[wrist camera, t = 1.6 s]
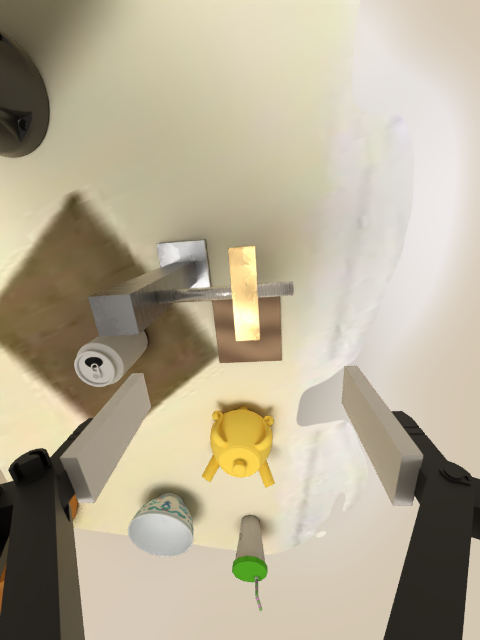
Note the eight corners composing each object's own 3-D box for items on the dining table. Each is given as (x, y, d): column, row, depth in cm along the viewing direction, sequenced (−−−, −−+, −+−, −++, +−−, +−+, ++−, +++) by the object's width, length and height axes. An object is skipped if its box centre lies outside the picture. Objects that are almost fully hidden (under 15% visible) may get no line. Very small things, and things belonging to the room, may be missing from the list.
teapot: (208, 447, 57) (198, 496, 47) (209, 398, 53) (198, 440, 42) (271, 453, 57) (275, 503, 47) (278, 403, 52) (284, 447, 42)
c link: (236, 246, 32) (228, 248, 23) (255, 245, 32) (254, 246, 22) (241, 313, 35) (236, 340, 25) (258, 312, 35) (259, 339, 25)
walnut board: (211, 292, 45) (211, 293, 44) (279, 288, 44) (279, 288, 43) (220, 361, 50) (219, 363, 49) (281, 358, 49) (281, 360, 48)
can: (143, 317, 47) (108, 344, 36) (154, 352, 50) (124, 388, 38) (106, 322, 48) (61, 351, 37) (118, 357, 51) (79, 393, 39)
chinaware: (204, 520, 66) (198, 556, 59) (150, 521, 68) (137, 557, 60) (194, 479, 61) (185, 513, 54) (135, 481, 63) (119, 514, 55)
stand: (159, 243, 42) (50, 259, 20) (276, 233, 41) (303, 239, 18) (169, 300, 46) (86, 369, 23) (278, 293, 44) (302, 360, 22)
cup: (234, 510, 64) (228, 589, 50) (264, 510, 63) (267, 590, 49) (237, 530, 67) (232, 611, 53) (266, 530, 66) (269, 612, 52)
